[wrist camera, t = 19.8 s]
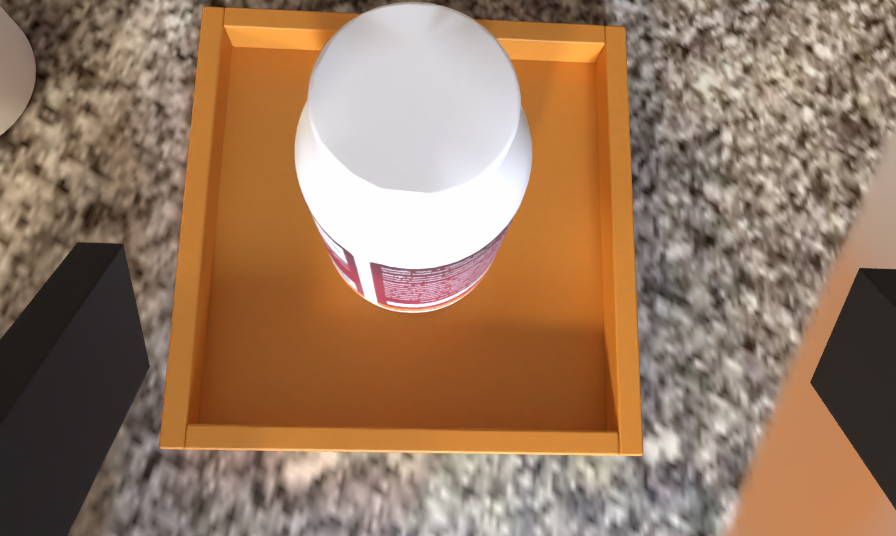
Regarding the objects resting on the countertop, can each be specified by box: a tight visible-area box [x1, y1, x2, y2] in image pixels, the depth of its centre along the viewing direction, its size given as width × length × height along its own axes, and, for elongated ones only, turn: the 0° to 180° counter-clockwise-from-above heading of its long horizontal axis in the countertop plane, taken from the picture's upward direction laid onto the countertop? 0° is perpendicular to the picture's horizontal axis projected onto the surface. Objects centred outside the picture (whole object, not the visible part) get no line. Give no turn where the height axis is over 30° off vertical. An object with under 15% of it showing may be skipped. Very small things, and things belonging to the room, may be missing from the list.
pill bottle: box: [295, 2, 532, 313], centre depth 21 cm, size 6×6×11 cm
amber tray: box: [159, 6, 643, 456], centre depth 26 cm, size 16×16×2 cm
